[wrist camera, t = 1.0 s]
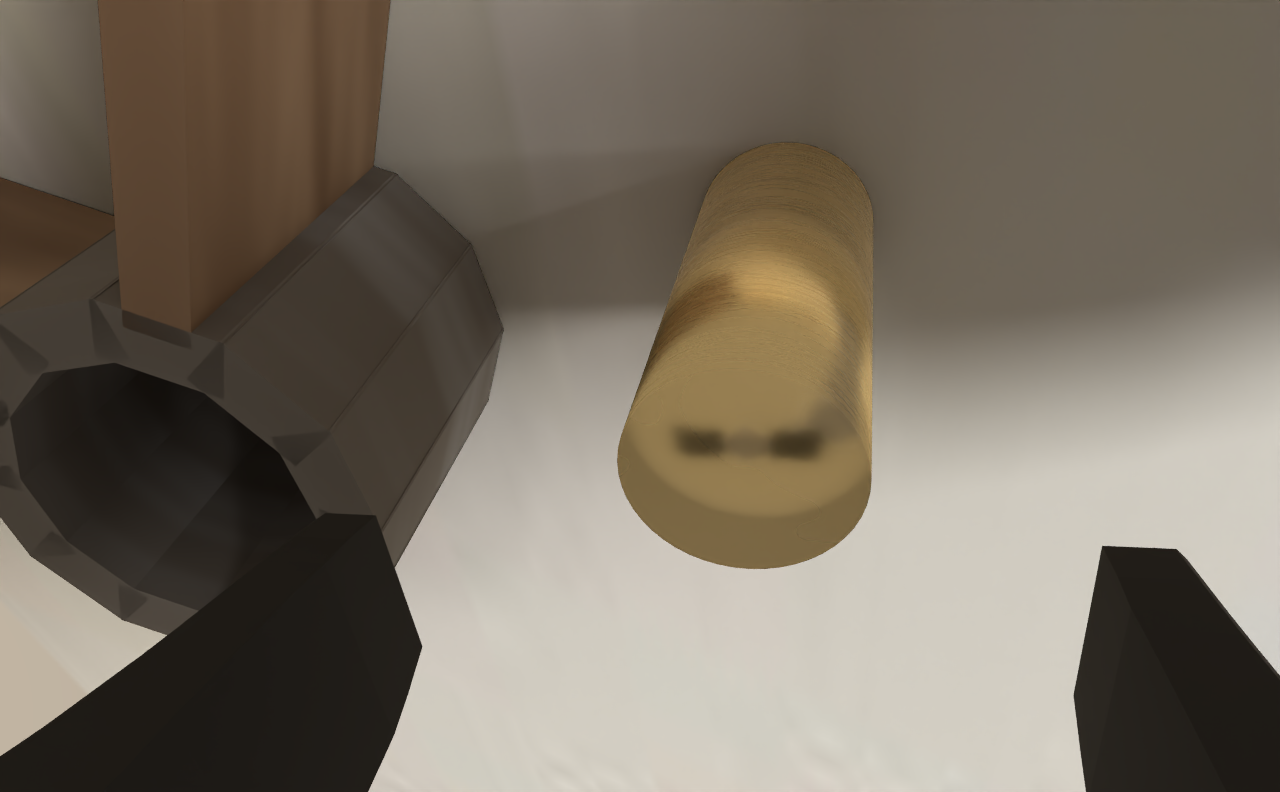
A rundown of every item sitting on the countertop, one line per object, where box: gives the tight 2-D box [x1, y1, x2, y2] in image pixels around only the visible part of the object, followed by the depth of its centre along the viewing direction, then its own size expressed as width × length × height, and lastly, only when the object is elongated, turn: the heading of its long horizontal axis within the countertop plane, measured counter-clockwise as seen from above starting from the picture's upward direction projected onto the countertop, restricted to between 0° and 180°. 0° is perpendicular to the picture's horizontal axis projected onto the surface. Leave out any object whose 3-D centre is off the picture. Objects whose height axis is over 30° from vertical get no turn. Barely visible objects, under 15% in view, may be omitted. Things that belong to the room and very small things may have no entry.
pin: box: [617, 143, 873, 569], centre depth 14 cm, size 3×3×7 cm
